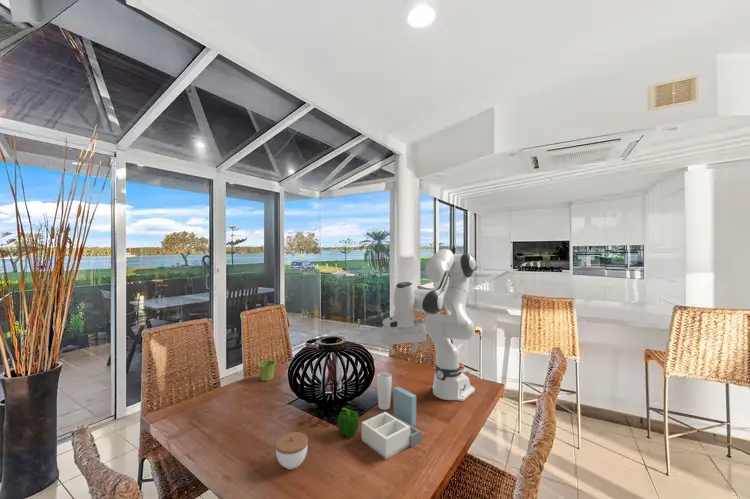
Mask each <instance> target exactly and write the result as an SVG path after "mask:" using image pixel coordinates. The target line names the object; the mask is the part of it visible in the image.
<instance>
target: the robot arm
mask: <svg viewBox="0 0 750 499" xmlns="http://www.w3.org/2000/svg"><path fill="white" fill-rule="evenodd" d="M476 268H477V260H476V259H475V257H474V255H473V254H471V253H456V254H454V252H452V251H451V250H449V249H448V248H441V249H439V250H438V251H436V252H435V253H434V254H433V255H432V256H431V258H430V259H429V260H428V261H427V263H426V265H425V267H424V269H425V273H426V276H427V278H428V279H430V280H431V281H432V282H434V283H436V284H435V285H436V286H435V287H434V288H433V289H423V288H422V289H421V288H417V287H415V286H414V284H413V282H410V281H402V282H398V283H397V284H396V285H395V288H394V294H393V307H394V309H393V315H392V316H389V317H387V318H384V319H383V320H382V324H383V325H382V326H381V329H380V335H379V341H380V343H381V344H382V345H384V346H388V348H389V349H390V354H391V355H396V349H395V348H393V347H394V345H399V344H409V343H410V344H412V343H413V346H412V347H411V348H410V352H411V353H416V352H417V348H418V346H419V343H421V342H423V343H424V342H426V341H427V335H428V336H429V337H430V339H431V341H432V342H433V345H434V348H435V354H436V355H435V356H436V358H435V359H436V360H435V362H436V363H435V367H434V369H435V372H434V377H433V385H432V387H431V388H432V394H433V395H434V396H435V397H437V398H439V399H441V400H445V401H461V402H462V401H463V402H464V401H465V400H466V399H467V398H468V397H470V395H472V394H473V393H474V392H475V391H476V388H475V387H474V386H473V385H471V382H470V381H471V380H470V378H469V377H468V376H467V375H466V374H464V373H463V372H462V370H464V369H465V368H466V366H465V365H463V364H460V351H459V349H458V347H457V346H455V345H454V344H453V343H452V342H451V339H452V340H457V341H469V340H471V339H472V338H473V336H474V335H475V332H476V328H475V327H476V326H475V324H474V321H472V319H471V318H469V316H468V314H467V310H466V307H467V302H468V297H469V292H470V279H469V278H471V277H472V276H473V274H474V272H475V271H476ZM443 307H445V309H447V311H449V312H450V314H441V313H440V311H441V310H442V309H443ZM416 311H417V312H422V313H428V314H427V315H426V316H424V319H415V312H416Z"/></svg>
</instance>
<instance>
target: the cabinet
mask: <svg viewBox="0 0 750 499" xmlns="http://www.w3.org/2000/svg"><path fill="white" fill-rule="evenodd" d="M361 441H362V442H363V443H364V444H366V445H367V446H368V447H369V448H370V449H372V450H373V451H375V452H376V453H378V455H380V456H381V457H382V458H383V459H385V460H388V459H390V458H391V457H393V456H395V455H396V454H398V453H400V452H401V451H403V450H406V449H407V448H409V447H410V448H413V447H415V446H416V445H418V444H420V443H422V431H421V430H420V429H418V428H417V427H415V426H414V425H413V426H411V425H410V424H408V423H406V422H405V421H403V420H401V419H400V418H398V417H396V416H395V415H393V413H392V414H390V413H388V412H386V411H384V412H381V413H379V414H377V415H375V416H373V417H371V418H368V419H365V420H364V421H361Z"/></svg>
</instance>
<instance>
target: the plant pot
mask: <svg viewBox="0 0 750 499" xmlns="http://www.w3.org/2000/svg"><path fill="white" fill-rule="evenodd" d="M276 364H277V362H276V361H275V360H270V359H269V360H262V361H259V362H258V363H257V367H258V368H259V373H260V380H261V381H263V382H264V381H266V382H270V381H272V379H273V378H274V373H275V372H274V371H275V366H276Z"/></svg>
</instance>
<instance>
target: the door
mask: <svg viewBox="0 0 750 499" xmlns="http://www.w3.org/2000/svg"><path fill="white" fill-rule="evenodd" d="M392 404H393V405H392V406H393V411H392V412H393V413H392V414H393V415H395V416H396V417H398V418H400V419H401V420H403V421H405V422H406V423H408V424H410V425H411V426H413V427H414V426H415V425H417V395H416V394H414V393H412V392H410V391H409V390H407V389H404V388H402V387H401V386H398V385H396V387H395V386H394V387H393V403H392Z"/></svg>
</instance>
